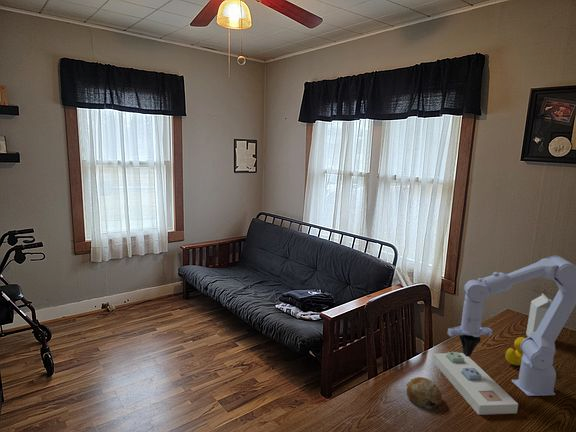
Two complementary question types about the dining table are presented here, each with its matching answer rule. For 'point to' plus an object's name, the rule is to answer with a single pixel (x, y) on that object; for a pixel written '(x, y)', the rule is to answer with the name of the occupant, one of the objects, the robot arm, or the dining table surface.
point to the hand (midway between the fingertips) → (466, 354)
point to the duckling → (515, 352)
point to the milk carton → (537, 312)
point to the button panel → (475, 386)
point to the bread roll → (423, 392)
